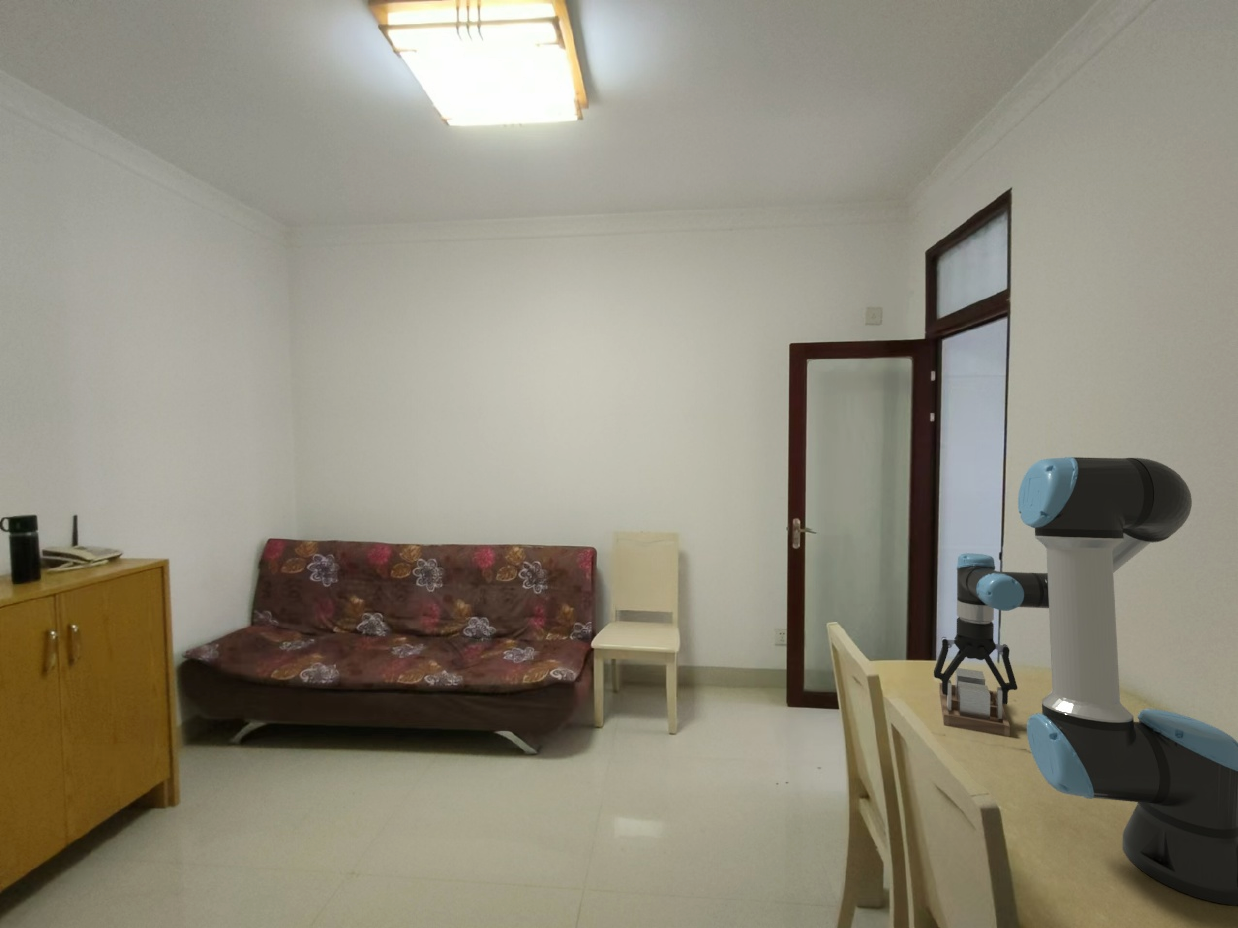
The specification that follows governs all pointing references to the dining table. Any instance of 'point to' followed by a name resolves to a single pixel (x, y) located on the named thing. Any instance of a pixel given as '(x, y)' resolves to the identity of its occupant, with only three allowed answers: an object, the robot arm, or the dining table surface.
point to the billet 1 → (968, 678)
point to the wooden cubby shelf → (974, 724)
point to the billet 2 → (973, 701)
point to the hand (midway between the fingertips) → (973, 712)
